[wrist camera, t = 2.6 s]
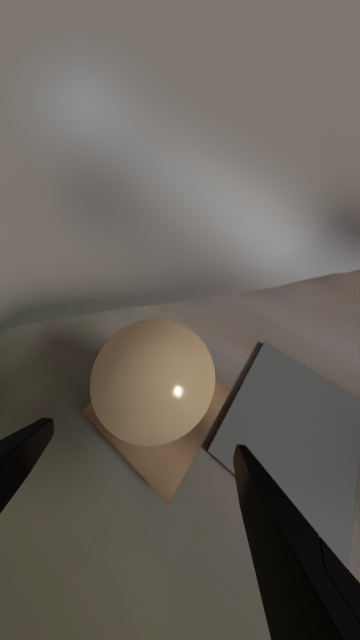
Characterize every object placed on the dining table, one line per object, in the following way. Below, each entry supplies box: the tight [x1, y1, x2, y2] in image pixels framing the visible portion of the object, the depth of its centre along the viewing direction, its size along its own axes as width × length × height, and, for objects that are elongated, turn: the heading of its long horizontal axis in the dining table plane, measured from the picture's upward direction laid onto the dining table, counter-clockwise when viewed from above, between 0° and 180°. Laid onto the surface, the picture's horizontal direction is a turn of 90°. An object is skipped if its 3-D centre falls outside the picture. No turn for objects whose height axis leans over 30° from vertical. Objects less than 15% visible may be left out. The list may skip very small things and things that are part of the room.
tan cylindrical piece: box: [90, 319, 215, 446], centre depth 12 cm, size 6×6×10 cm
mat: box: [207, 342, 360, 569], centre depth 18 cm, size 14×12×1 cm
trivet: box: [82, 379, 231, 504], centre depth 17 cm, size 10×10×2 cm
